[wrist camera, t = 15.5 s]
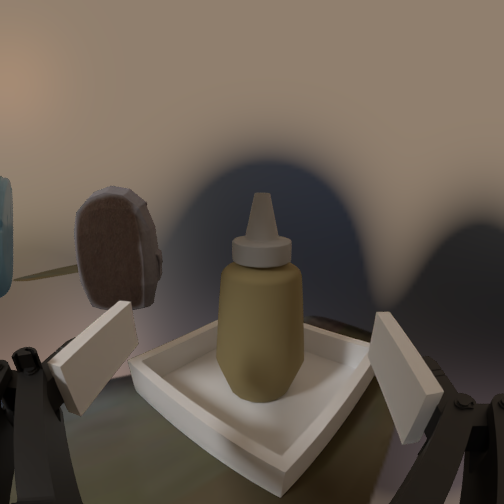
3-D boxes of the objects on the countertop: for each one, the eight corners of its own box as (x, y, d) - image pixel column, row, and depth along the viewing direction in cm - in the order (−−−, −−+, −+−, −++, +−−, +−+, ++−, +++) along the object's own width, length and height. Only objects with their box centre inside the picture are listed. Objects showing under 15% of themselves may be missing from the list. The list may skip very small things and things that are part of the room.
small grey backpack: (78, 313, 41) (61, 191, 36) (95, 294, 49) (84, 188, 44) (162, 315, 43) (152, 182, 38) (170, 295, 51) (163, 181, 46)
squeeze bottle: (233, 356, 31) (229, 190, 27) (305, 366, 29) (317, 192, 25) (205, 402, 24) (190, 196, 19) (294, 418, 22) (312, 198, 17)
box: (135, 390, 26) (127, 360, 25) (248, 331, 39) (248, 304, 38) (280, 497, 15) (285, 472, 14) (374, 376, 28) (381, 346, 27)
